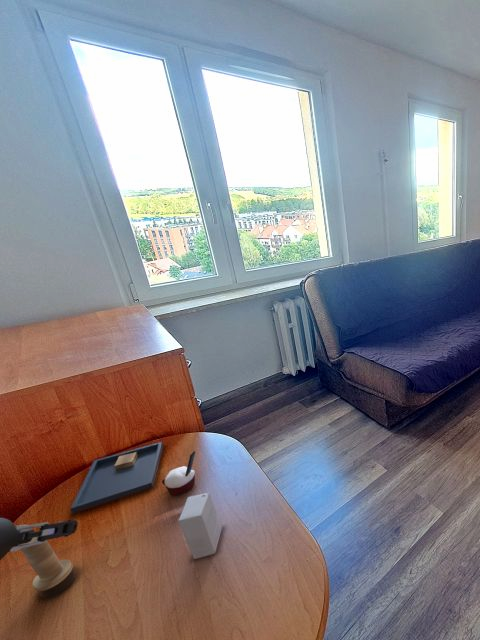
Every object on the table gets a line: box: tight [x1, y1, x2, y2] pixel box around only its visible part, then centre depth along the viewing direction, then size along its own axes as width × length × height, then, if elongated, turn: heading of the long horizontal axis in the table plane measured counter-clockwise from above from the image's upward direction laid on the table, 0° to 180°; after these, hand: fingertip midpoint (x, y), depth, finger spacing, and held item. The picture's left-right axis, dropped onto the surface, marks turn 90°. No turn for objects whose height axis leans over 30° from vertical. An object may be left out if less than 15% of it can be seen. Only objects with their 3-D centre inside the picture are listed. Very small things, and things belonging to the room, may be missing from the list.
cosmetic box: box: [178, 491, 223, 560], centre depth 72 cm, size 6×4×12 cm
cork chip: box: [114, 452, 138, 470], centre depth 95 cm, size 4×4×2 cm
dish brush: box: [20, 537, 78, 599], centre depth 64 cm, size 5×5×13 cm
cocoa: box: [161, 450, 196, 496], centre depth 85 cm, size 10×6×12 cm, turn 70°
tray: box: [70, 441, 164, 514], centre depth 91 cm, size 16×18×2 cm
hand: (47, 532), depth 65 cm, fingers open, 8 cm apart
